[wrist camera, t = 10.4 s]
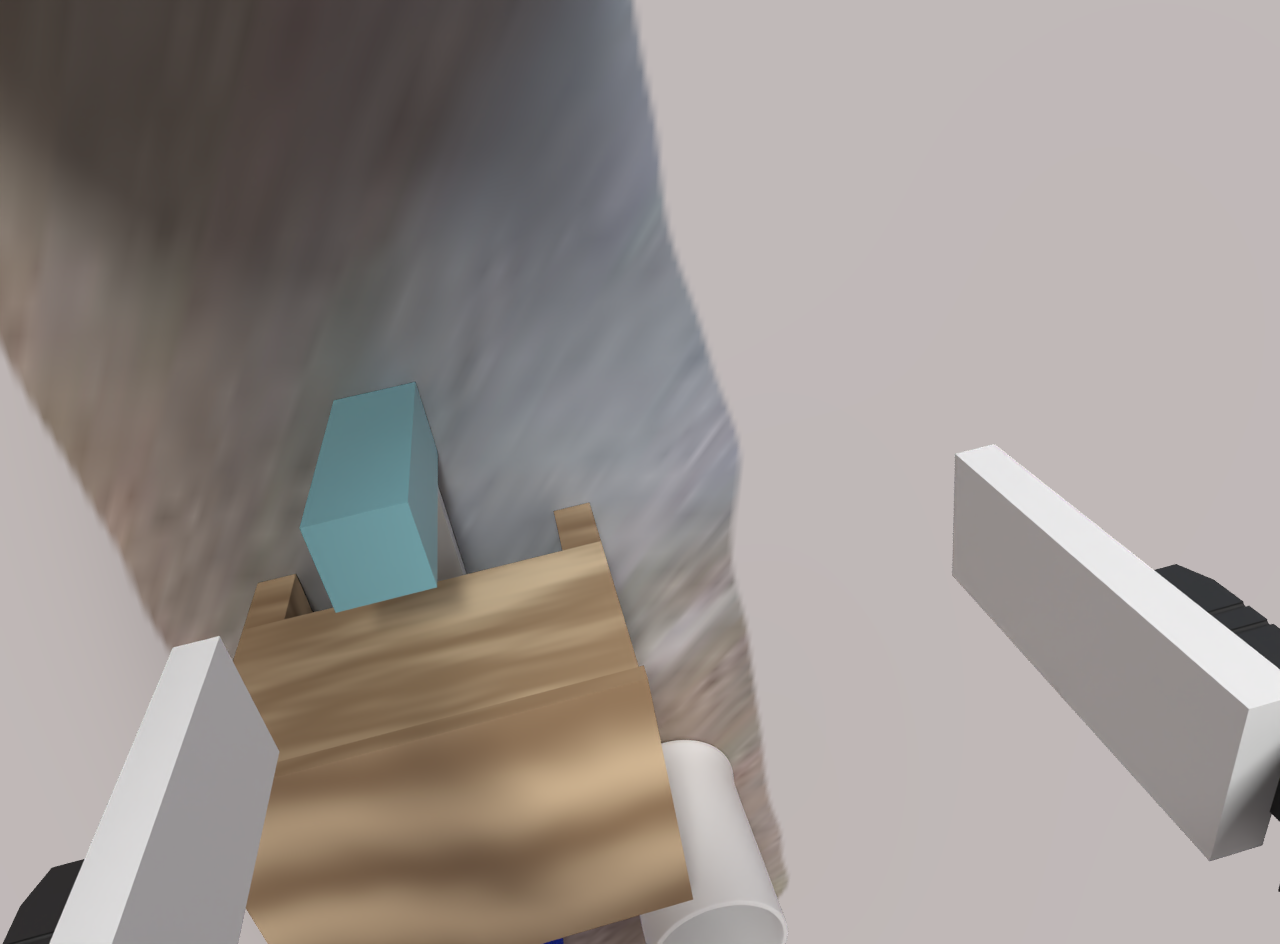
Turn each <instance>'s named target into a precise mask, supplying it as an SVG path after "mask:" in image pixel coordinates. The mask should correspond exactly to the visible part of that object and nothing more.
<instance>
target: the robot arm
mask: <svg viewBox="0 0 1280 944" xmlns="http://www.w3.org/2000/svg"><path fill="white" fill-rule="evenodd" d="M953 526H954V527H953V565H952V566H953V567H952V568H953V569H952V575H953V577H954V578H955V579H956V580H957V581H958V582H959V583H960V585H961V586H962V587H963V588H964V589H965V590H966V591H967V592H968V593H969V595H971V597H972V598H973V599H974V600H975V601H976V602H977V603H978V604H979V606H980V607H981V608H982V609H983V610H984V611H985V612H986V613H987V615H988V616H989V617H990V618H991V619H992V620H993V621H994V622H995V623H996V624H997V626H998V627H999V628H1000V629H1001V630H1002V631H1003V632H1004V633H1005V634H1006V636H1007V637H1008V638H1009V639H1010V640H1011V641H1012V642H1013V643H1014V644H1015V646H1016V647H1017V648H1018V649H1019V650H1020V651H1021V652H1022V653H1023V655H1024V656H1025V657H1026V658H1027V659H1028V660H1029V661H1030V662H1031V663H1032V664H1033V665H1034V667H1035V668H1036V669H1037V670H1038V671H1039V672H1040V673H1041V674H1042V676H1043V677H1044V678H1045V679H1046V680H1047V681H1048V682H1049V683H1050V685H1051V686H1052V687H1053V688H1054V689H1055V690H1056V691H1057V692H1058V693H1059V694H1060V695H1061V697H1062V698H1063V699H1064V700H1065V701H1066V702H1067V703H1068V705H1069V706H1070V707H1071V708H1072V709H1073V710H1074V711H1075V712H1076V713H1077V715H1078V716H1079V717H1080V718H1081V719H1082V720H1083V721H1084V722H1085V723H1086V725H1088V727H1089V728H1090V729H1091V730H1092V731H1093V732H1094V733H1095V734H1096V736H1097V737H1098V738H1099V739H1100V740H1101V741H1102V742H1103V743H1104V745H1105V746H1106V747H1107V748H1108V749H1109V750H1110V751H1111V752H1112V753H1113V755H1114V756H1115V757H1116V758H1117V759H1118V760H1119V761H1120V762H1121V763H1122V765H1123V766H1124V767H1125V768H1126V769H1127V770H1128V771H1129V772H1130V773H1131V775H1132V776H1133V777H1134V778H1135V779H1136V780H1137V781H1138V782H1139V783H1140V784H1141V786H1142V787H1143V788H1144V789H1145V790H1146V791H1147V792H1148V793H1149V794H1150V796H1151V797H1152V798H1153V799H1154V800H1155V801H1156V802H1157V803H1158V804H1159V806H1160V807H1161V808H1162V809H1163V810H1164V811H1165V812H1166V813H1167V814H1168V815H1169V817H1170V818H1171V819H1172V820H1173V821H1174V822H1175V823H1176V825H1177V826H1178V827H1179V828H1180V829H1181V830H1182V831H1183V832H1184V833H1185V835H1186V836H1187V837H1188V838H1189V839H1190V840H1191V841H1192V842H1193V843H1194V845H1195V846H1196V847H1197V848H1198V849H1199V850H1200V851H1201V852H1202V853H1203V854H1204V856H1205V857H1206V858H1207V859H1208V860H1209V861H1212V860H1215V859H1219V858H1222V857H1226V856H1229V855H1232V854H1235V853H1238V852H1242V851H1245V850H1248V849H1252V848H1255V847H1258V846H1261V845H1262V844H1263V841H1264V838H1265V834H1266V831H1267V828H1268V824H1269V821H1270V818H1271V814H1272V815H1274V816H1275V817H1276V818H1277V819H1278V820H1279V821H1280V628H1278V627H1277V626H1276V625H1274V624H1271V625H1270V624H1268V622H1267V619H1266V618H1265V617H1263V616H1262V615H1261V614H1259V613H1258V612H1257V611H1255V610H1254V609H1253V608H1251V607H1250V606H1247V607H1245V605H1244V604H1243V601H1242V600H1240V599H1239V598H1238V597H1236V596H1235V595H1234V594H1232V593H1231V592H1229V591H1228V590H1227V589H1226V588H1224V587H1223V586H1221V585H1220V584H1219V583H1217V582H1216V581H1215V580H1213V579H1211V578H1208V577H1205V576H1203V575H1201V574H1199V573H1196V572H1194V571H1191V570H1189V569H1187V568H1184V567H1182V566H1179V565H1177V564H1175V565H1171V566H1168V567H1164V568H1160V569H1156V570H1153V569H1152V568H1151V567H1149V566H1148V565H1147V564H1145V563H1144V562H1143V561H1142V560H1141V559H1139V558H1138V557H1137V556H1135V555H1134V554H1133V553H1132V552H1130V551H1129V550H1128V549H1127V548H1125V547H1124V546H1123V545H1122V544H1120V543H1119V542H1118V541H1116V540H1115V539H1114V538H1113V537H1111V536H1110V535H1109V534H1107V533H1106V532H1105V531H1104V530H1103V529H1101V528H1100V527H1099V526H1098V525H1096V524H1095V523H1094V522H1092V521H1091V520H1090V519H1089V518H1087V517H1086V516H1085V515H1084V514H1082V513H1081V512H1079V510H1077V509H1076V508H1075V507H1073V506H1072V505H1071V504H1069V503H1068V502H1067V501H1066V500H1065V499H1063V498H1062V497H1061V496H1060V495H1058V494H1057V493H1056V492H1054V491H1053V490H1052V489H1051V488H1049V487H1048V486H1047V485H1046V484H1044V483H1043V482H1042V481H1040V480H1039V479H1038V478H1037V477H1035V476H1034V475H1033V474H1032V473H1030V472H1029V471H1028V470H1027V469H1025V468H1024V467H1023V466H1022V465H1020V464H1019V463H1018V462H1016V461H1015V460H1014V459H1013V458H1011V457H1010V456H1009V455H1008V454H1006V453H1005V452H1004V451H1002V450H1001V449H1000V448H999V447H997V446H996V445H995V444H994V445H989V446H985V447H981V448H977V449H973V450H969V451H965V452H961V453H957V454H955V482H954V523H953ZM278 756H279V750H278V748H277V746H276V744H275V742H274V740H273V738H272V736H271V734H270V733H269V731H268V729H267V727H266V725H265V723H264V721H263V719H262V717H261V715H260V713H259V711H258V709H257V707H256V705H255V703H254V702H253V700H252V698H251V696H250V694H249V692H248V690H247V688H246V686H245V684H244V682H243V680H242V678H241V676H240V674H239V672H238V670H237V669H236V667H235V665H234V663H233V661H232V659H231V657H230V655H229V653H228V651H227V649H226V647H225V645H224V643H223V641H222V639H221V638H220V636H218V637H214V638H210V639H206V640H202V641H198V642H194V643H190V644H186V645H182V646H177V647H173V648H172V651H171V653H170V656H169V658H168V660H167V663H166V665H165V668H164V670H163V672H162V675H161V677H160V680H159V682H158V684H157V687H156V689H155V692H154V694H153V696H152V699H151V701H150V704H149V706H148V708H147V711H146V713H145V716H144V718H143V720H142V723H141V725H140V728H139V730H138V732H137V735H136V737H135V740H134V742H133V744H132V747H131V749H130V752H129V754H128V757H127V759H126V761H125V764H124V766H123V768H122V771H121V773H120V775H119V778H118V780H117V783H116V785H115V787H114V790H113V792H112V795H111V797H110V799H109V802H108V804H107V807H106V809H105V811H104V814H103V816H102V819H101V821H100V823H99V826H98V828H97V831H96V833H95V836H94V838H93V840H92V843H91V845H90V847H89V850H88V852H87V855H86V857H85V859H83V860H79V861H75V862H72V863H68V864H64V865H60V866H57V867H53V868H51V870H50V871H49V872H48V873H47V874H46V876H45V877H44V878H43V879H42V880H41V882H40V883H39V884H38V885H37V886H36V888H35V889H34V890H33V891H32V892H31V894H30V895H29V896H28V897H27V899H26V900H25V901H24V902H23V904H22V905H21V906H20V908H19V910H18V912H17V914H16V917H15V919H14V921H13V923H12V925H11V927H10V929H9V931H8V934H7V936H6V938H5V940H4V942H3V944H238V941H239V936H240V932H241V927H242V923H243V918H244V913H245V909H246V904H247V900H248V895H249V890H250V886H251V881H252V876H253V872H254V867H255V862H256V858H257V853H258V849H259V844H260V839H261V835H262V830H263V825H264V821H265V816H266V811H267V807H268V802H269V798H270V793H271V788H272V784H273V779H274V774H275V770H276V765H277V761H278ZM1279 892H1280V886H1279Z"/></svg>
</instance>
